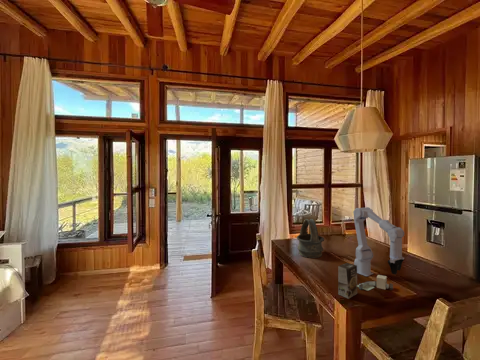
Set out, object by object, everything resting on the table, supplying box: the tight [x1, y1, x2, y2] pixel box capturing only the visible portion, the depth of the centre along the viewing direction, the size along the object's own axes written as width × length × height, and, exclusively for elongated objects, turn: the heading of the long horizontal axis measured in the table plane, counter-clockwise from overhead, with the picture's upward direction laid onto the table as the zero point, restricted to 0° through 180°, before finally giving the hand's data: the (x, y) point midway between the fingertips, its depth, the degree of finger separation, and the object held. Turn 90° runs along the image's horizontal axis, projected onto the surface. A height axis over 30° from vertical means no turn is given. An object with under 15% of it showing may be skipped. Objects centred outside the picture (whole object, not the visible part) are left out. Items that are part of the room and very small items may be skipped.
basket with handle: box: [296, 218, 325, 259], centre depth 201 cm, size 22×23×30 cm
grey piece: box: [358, 280, 394, 291], centre depth 141 cm, size 6×19×3 cm, turn 87°
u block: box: [376, 274, 388, 290], centre depth 142 cm, size 4×5×6 cm
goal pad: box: [357, 282, 376, 292], centre depth 142 cm, size 7×7×1 cm
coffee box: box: [337, 262, 358, 300], centre depth 134 cm, size 9×6×16 cm
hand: (396, 271), depth 139 cm, fingers open, 7 cm apart
